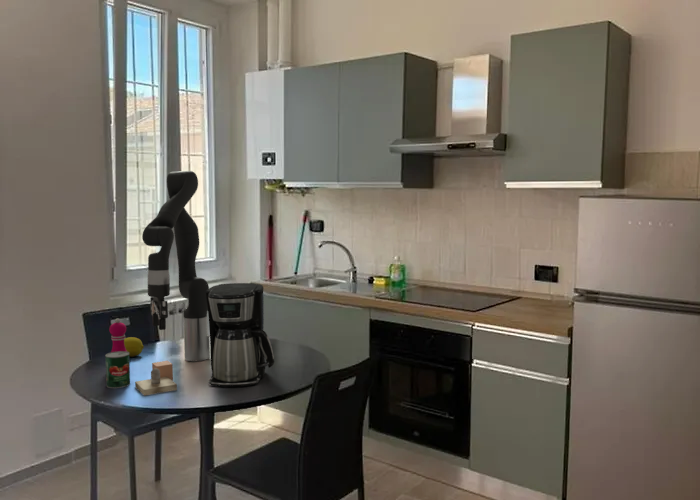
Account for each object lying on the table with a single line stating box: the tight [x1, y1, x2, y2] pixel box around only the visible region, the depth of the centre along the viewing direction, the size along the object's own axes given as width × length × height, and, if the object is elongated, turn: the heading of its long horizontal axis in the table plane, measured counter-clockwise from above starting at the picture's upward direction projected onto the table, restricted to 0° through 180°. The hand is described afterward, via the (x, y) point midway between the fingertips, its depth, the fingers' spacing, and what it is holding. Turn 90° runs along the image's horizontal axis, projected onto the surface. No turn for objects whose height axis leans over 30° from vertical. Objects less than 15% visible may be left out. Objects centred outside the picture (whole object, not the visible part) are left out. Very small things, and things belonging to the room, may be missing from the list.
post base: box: [134, 368, 178, 397], centre depth 215 cm, size 11×11×7 cm
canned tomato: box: [104, 351, 131, 389], centre depth 219 cm, size 8×8×11 cm
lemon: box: [124, 336, 145, 358], centre depth 257 cm, size 11×8×8 cm
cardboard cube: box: [151, 360, 174, 382], centre depth 225 cm, size 6×6×6 cm
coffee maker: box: [206, 282, 275, 388], centre depth 229 cm, size 23×32×34 cm
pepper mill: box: [108, 318, 127, 353], centre depth 236 cm, size 7×7×20 cm
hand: (159, 327), depth 224 cm, fingers open, 8 cm apart
